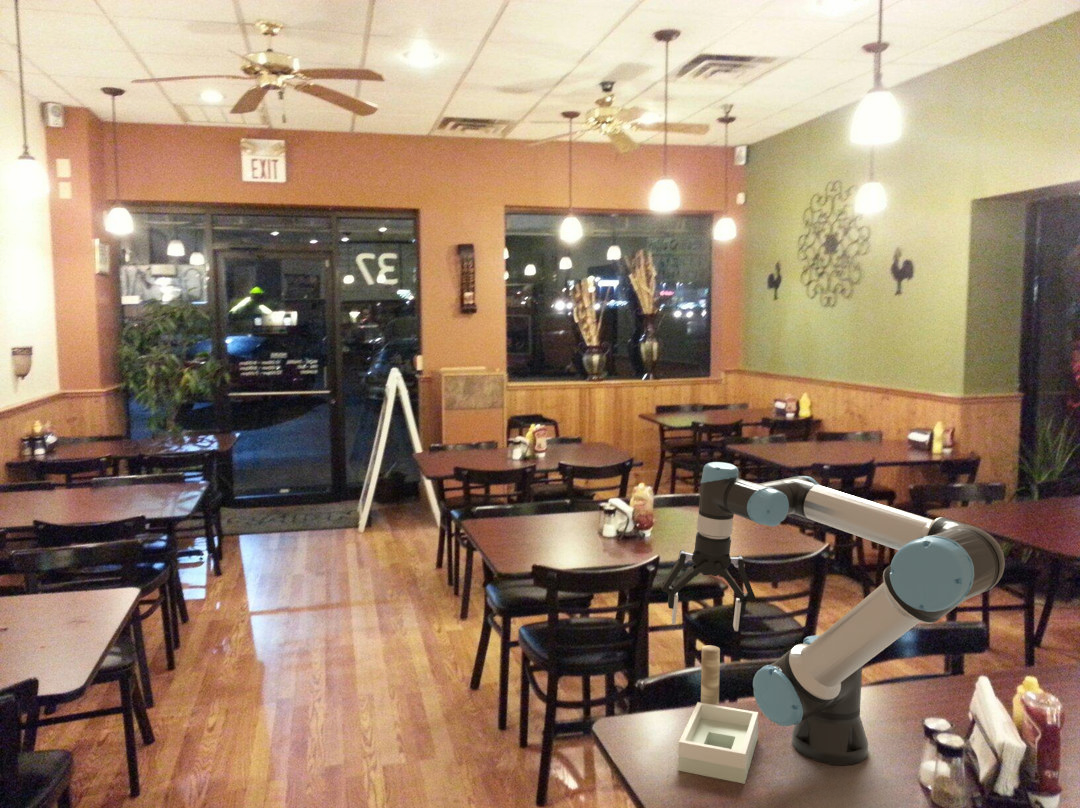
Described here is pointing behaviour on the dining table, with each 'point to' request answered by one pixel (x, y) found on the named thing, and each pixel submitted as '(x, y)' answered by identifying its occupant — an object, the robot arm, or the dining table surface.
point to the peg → (710, 675)
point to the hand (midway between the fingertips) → (704, 625)
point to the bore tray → (719, 742)
